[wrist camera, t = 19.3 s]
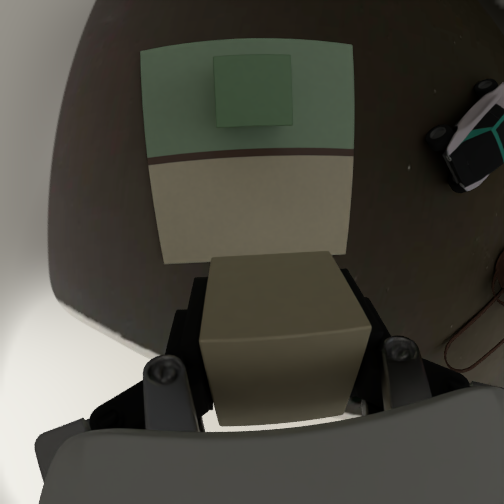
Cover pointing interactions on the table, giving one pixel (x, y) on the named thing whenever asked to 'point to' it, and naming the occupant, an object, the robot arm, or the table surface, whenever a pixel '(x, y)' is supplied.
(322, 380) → the cream block
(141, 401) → the robot arm
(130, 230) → the table surface
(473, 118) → the toy car
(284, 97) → the sage block
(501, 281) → the handled basket
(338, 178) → the board
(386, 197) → the table surface
